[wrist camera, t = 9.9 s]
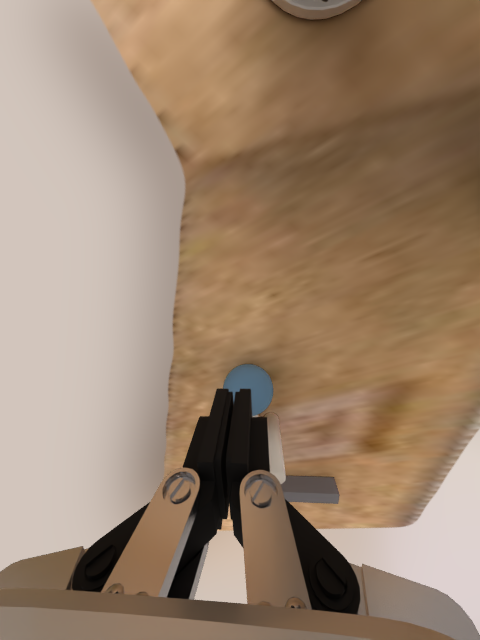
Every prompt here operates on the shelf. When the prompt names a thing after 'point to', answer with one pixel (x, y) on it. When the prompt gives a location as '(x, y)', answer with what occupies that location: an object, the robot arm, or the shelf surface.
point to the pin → (275, 447)
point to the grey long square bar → (310, 489)
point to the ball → (251, 385)
